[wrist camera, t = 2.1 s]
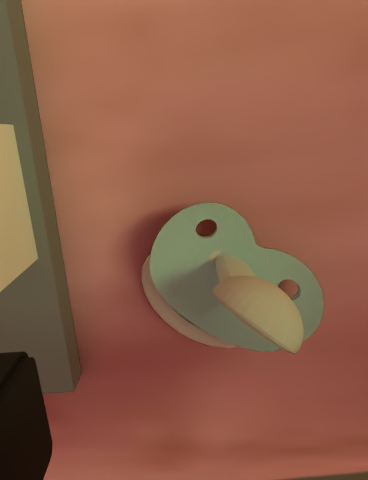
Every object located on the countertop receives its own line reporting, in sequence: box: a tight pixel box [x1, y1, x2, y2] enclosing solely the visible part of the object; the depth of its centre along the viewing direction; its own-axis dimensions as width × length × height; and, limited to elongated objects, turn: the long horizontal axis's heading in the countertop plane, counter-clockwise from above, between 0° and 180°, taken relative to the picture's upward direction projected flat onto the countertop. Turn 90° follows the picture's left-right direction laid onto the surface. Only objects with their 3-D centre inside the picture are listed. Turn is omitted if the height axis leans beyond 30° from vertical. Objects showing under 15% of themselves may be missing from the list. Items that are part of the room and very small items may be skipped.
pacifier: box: [141, 202, 324, 354], centre depth 12 cm, size 7×6×6 cm
